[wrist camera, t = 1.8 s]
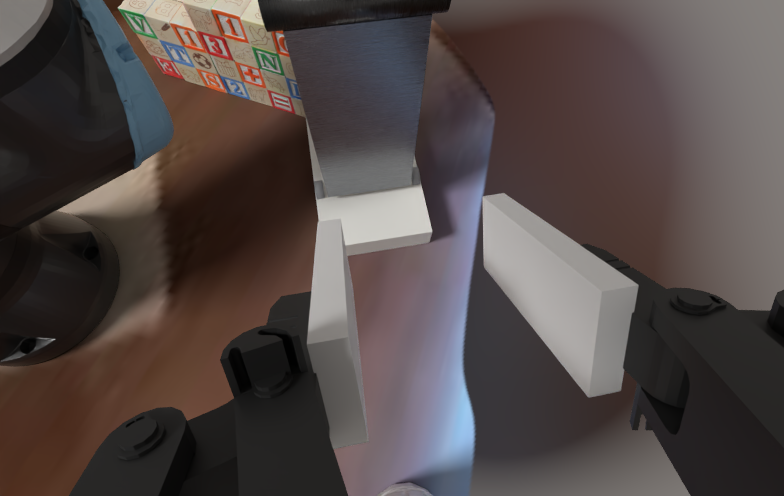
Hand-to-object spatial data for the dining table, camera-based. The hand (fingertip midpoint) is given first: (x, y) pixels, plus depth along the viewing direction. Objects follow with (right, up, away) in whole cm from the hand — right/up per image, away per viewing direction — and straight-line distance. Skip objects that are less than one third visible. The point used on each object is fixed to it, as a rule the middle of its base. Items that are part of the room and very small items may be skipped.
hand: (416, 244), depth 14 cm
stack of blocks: (-19, +21, +36) cm, 46 cm away
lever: (-3, +6, +26) cm, 27 cm away
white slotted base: (-4, +7, +31) cm, 32 cm away
